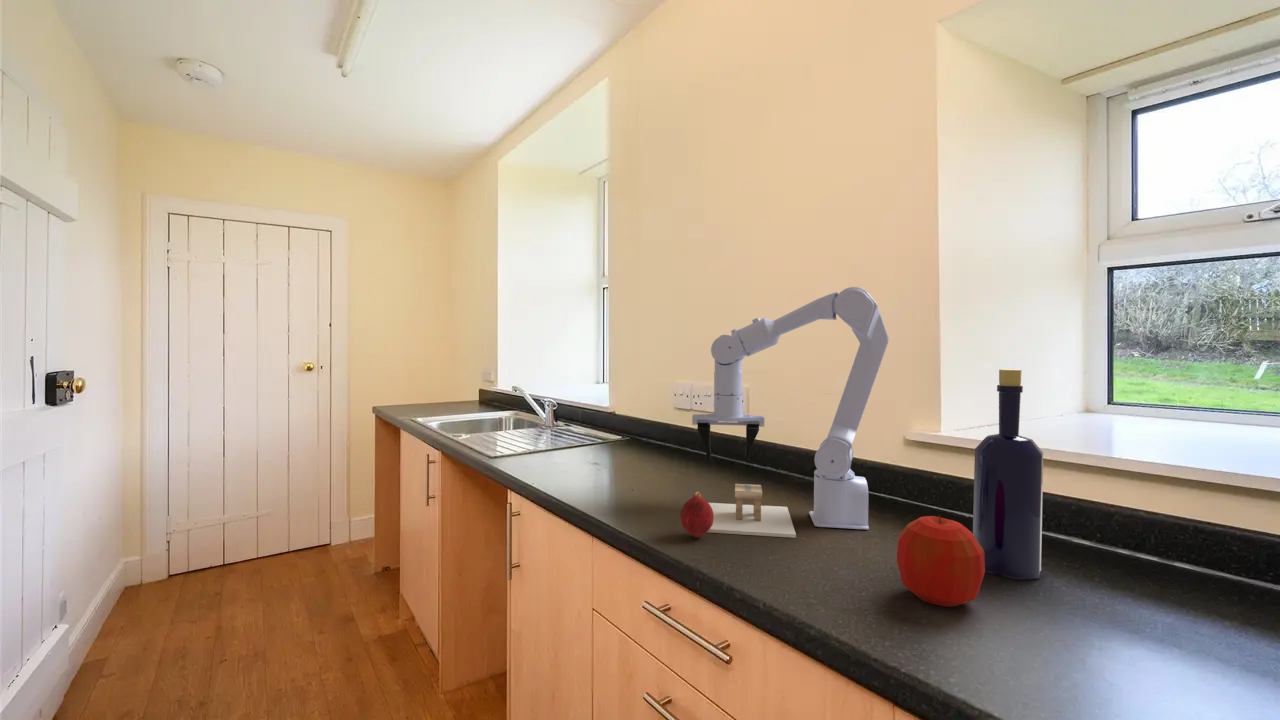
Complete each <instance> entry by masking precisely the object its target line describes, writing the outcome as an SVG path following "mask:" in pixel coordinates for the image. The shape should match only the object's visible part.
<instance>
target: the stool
mask: <svg viewBox="0 0 1280 720" xmlns="http://www.w3.org/2000/svg"><path fill="white" fill-rule="evenodd" d="M734 498H735V504H736V520H742V506H743V505H744V503H743V502H744V501H743V500H744V499H745V500H753V505H754V521H761V506H762V500H763V487H762V485H761V484H750V483H734Z"/></svg>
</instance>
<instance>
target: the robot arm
mask: <svg viewBox="0 0 1280 720" xmlns="http://www.w3.org/2000/svg"><path fill="white" fill-rule="evenodd" d="M880 311H881V310H880V308H879V305H878V303H877V301H875V299H874V298H873V297H872V296H871V294H869V292H868V291H867V290H865V289H864V288H862V287H857V286H850V287H847V288H845V289H843V290H842V291H840V292H838V291H836V292H832V293H829V294H827V295H825V296H822V297H819V298H816V299H815V300H812V301H810V302H808V303H807V304H805V305H802V306H801V307H799V308H797V309H794V310H793V311H791V312H788V313H787V314H785V315H783V316H781V317H779V318H776V319H775V320H772V319H769V318H767V317H763V318H760V317H757V318H754V319H752V321H751V322H752V323H750V324H748V325H746V326H743V327H742V328H740V329H736V328H734V329H731V330H730V332H731V335H729V334H721V335H720V336H719V337H717V338H715V339H714V341H713V342H712V344H711V346H710V347H711V348H710V352H711V356H712V358H713V359H714V372H713V375H714V377H713V380H714V381H713V394H714V395H713V413H704V414H701V413H699V414H698V413H696V414H695V413H694V414H693V413H692V418H691V419H692V420H691V423H692V426H693V425H695V426H697V427H696V428H697V431H698V434H699V435H700V438H701V440H702V444H703V446H704V449H705V455H706V461H709V462H711V459H712V450H711V426H712V425H714V426H715V425H716V426H743V427H744V426H745V435H746V436H745V451H744V453H745V454H744V462H745V463H749V461H750V455H751V452H752V448H753V445H754V442H755V439H756V437H757V436H758V433H759V431H760V428H759V427H762V428H763V427H765V426H766V425H765V415H753V414H743V359H744V358H745V357H750V356H752V355H754V354H757V353H760V352H761V351H764V350H766V349H769V348H771V347H774V346H776V345H777V344H778V342H779V340H780V337H781V336H782V335H784V334H786V333H789V332H792V331H794V330H796V329H799V328H801V327H804V326H807V325H809V324H811V323H813V322H817V321H819V320H828V321H829V320H830V321H831V320H833V321H837V317H838V318H840V319H841V320H842V321H843V322H844V323H846V324H847V325H848V326H849V327H850V328H851V330H852V332H853V334H854V335H855V337H856V339H857V340H858V342H859V346H858V349H857V352H856V355H855V357H854V360H853V364H852V366H851V369H850V371H849V375H848V378H847V381H846V383H845V386H844V389H843V392H842V395H841V398H840V401H839V403H838V406H837V409H836V412H835V415H834V418H833V421H832V424H831V426H830V429H829V432H828V434H827V437H826V438H825V439H824V440H822V442H821V444H820V446H819V448H818V449H817V450H816V452H815V455H814V464H815V467H816V469H815V470H814V471H813V475H814V476H813V479H814V480H813V483H814V484H813V510H811V511H808V512H809V513H808V514H809V516H810V518H811V521H812V522H813V523H812V524H813V526H814V527H818V528H835V529H836V528H837V529H851V530H853V529H854V530H869V529H870V527H869V487H868V486H869V485H868V481H867V479H866V477H864V476H859V475H858V476H857V475H855V472H854V471H853V470H852V469H851V466H852V460H853V457H854V449H853V443H854V440H855V437H856V434H857V431H858V429H859V426H860V422H861V420H862V417H863V414H864V412H865V409H866V406H867V404H868V400H869V399H870V395H871V392H872V389H873V386H874V383H875V380H876V379H877V375H878V372H879V369H880V368H881V364H882V361H883V358H884V355H885V353H886V349H887V346H888V344H889V334H888V332H887V329H886V325H885V324H884V320H883V317H882V315H881V312H880Z"/></svg>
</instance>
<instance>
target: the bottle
mask: <svg viewBox="0 0 1280 720" xmlns="http://www.w3.org/2000/svg"><path fill="white" fill-rule="evenodd" d="M998 373H999V374H998V382H999V383H998V384H997V385H996V392H997V393H998V433H994V434H988V435H987V436H986V437H984V438H983V440H982V441H981V442H980V443H979V444H978V445H977V446H976V447H975V448H974V463H973V464H974V466H973V467H974V468H973V469H974V470H973V471H974V472H973V476H974V477H973V510H972V511H973V512H972V515H973V516H972V534H973V535H974V537H975V538H976V540H977V541H978V543H979V544H980V546H981V547H982V549H983V550H984V561H985V573H987V574H989V575H994V576H998V577H1002V578H1005V579H1006V578H1007V579H1011V580H1015V581H1023V580H1024V581H1025V580H1026V581H1029V580H1031V581H1033V580H1040V579H1041V576H1042V574H1043V571H1042V542H1043V541H1042V538H1043V536H1042V534H1043V533H1042V531H1043V530H1042V529H1043V491H1044V490H1043V489H1044V488H1043V487H1044V486H1043V484H1044V482H1043V481H1044V452H1043V450H1041V448H1040V447H1039V446H1038V445H1037V443H1036V442H1035V441H1034V440H1033V439H1031V438H1029V437H1026V436H1022V435H1020V419H1021V415H1020V413H1021V394H1022V393H1023V392H1024V387H1023V385H1022V369H1010V368H1005V369H1003V368H1001V369H998Z"/></svg>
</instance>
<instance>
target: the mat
mask: <svg viewBox="0 0 1280 720" xmlns="http://www.w3.org/2000/svg"><path fill="white" fill-rule="evenodd" d="M708 503H709V505H710V506H711V508H712V510H713V514H714V520H713V525H712V526H711V528H710V529H709V530H708V531H707V532H706V533H712V534H713V533H714V534H715V533H716V534H725V535H726V534H727V535H728V534H729V535H743V536H744V535H745V536H758V537H760V536H762V537H776V538H790V539H791V538H793V539H795V538H797V534H796V531H795V527H794V524H793V521H792V518H791V515H790V512H789V508H788V506H779V505H761V521H754V504H743V506H742V520H736V503H720V502H708Z"/></svg>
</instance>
